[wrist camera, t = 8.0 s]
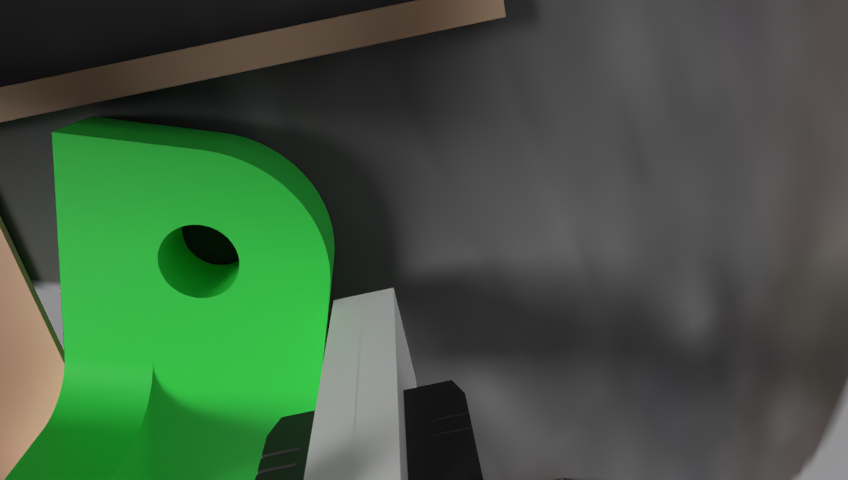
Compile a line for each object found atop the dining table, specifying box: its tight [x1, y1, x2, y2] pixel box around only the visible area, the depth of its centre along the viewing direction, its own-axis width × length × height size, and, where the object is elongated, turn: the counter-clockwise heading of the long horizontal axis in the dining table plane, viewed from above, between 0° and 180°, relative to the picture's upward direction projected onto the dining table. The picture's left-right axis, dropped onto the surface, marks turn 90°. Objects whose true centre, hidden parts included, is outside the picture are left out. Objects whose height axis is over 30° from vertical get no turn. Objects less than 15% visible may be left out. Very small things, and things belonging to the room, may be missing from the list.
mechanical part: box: [4, 116, 335, 480], centre depth 13 cm, size 12×6×8 cm, turn 172°
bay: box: [0, 0, 563, 480], centre depth 17 cm, size 21×15×2 cm
